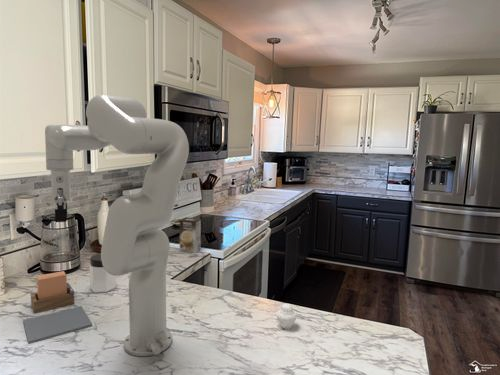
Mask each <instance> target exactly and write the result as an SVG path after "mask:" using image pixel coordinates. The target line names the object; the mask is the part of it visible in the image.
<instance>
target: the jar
mask: <svg viewBox="0 0 500 375" xmlns="http://www.w3.org/2000/svg"><path fill="white" fill-rule="evenodd" d="M88 265H89V287H90V290H91V291H92V293H94V294H95V293H108V292H109V291H110V292H111V290H113V289H116V287H117V280H116V278H117V276H114V275H111V274H109V273H108V272H107V271H106V270H105V269H104V267H103V265H102V260H101V253H99V254H93V255H92V256H90V258H89V264H88Z"/></svg>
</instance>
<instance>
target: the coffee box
mask: <svg viewBox="0 0 500 375" xmlns="http://www.w3.org/2000/svg"><path fill="white" fill-rule="evenodd" d="M201 228H202V219H201V218H194V217H187V216H185V217H182V218H181V219H179V252H184V253H194V254H196V253H197V252H200V250H201V244H202V243H201V242H202V241H201V239H202V238H201V237H202V236H201V234H202V231H201V230H202V229H201ZM199 249H200V250H199Z"/></svg>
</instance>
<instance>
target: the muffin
mask: <svg viewBox="0 0 500 375" xmlns="http://www.w3.org/2000/svg"><path fill="white" fill-rule="evenodd" d="M275 314H276V319H277V321H278V323H279V325H280V327H281V328H283V329H285V330H286V329H290V328H292V326H293V325H294V323H295V322H296V320H297V316H298V314H297V312H296V311H295V310H294V308H293V306H292V305H291V304H290V303H284V304H282V305H281V307H280V308H279V309H278V310H276V313H275Z"/></svg>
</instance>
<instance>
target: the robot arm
mask: <svg viewBox="0 0 500 375" xmlns="http://www.w3.org/2000/svg"><path fill="white" fill-rule="evenodd" d="M86 105H87V106H86V110H85V115H86V120H87V121H86V122H87V123H86V124H87V125H82V124H80V125H79V124H49V125H46V126H45V128H44V139H45V140H44V141H45V142H44V143H45V167H46V168H45V169H46V170H47V171H50V183H51V185H50V186H51V193H52V194H51V195H52V201H53V202H54V203H55V209H54V222H55V223H66V222H68V203H67V201H68V202H69V203H70V202H71V200H72V193H71V192H72V190H71V188H72V187H71V186H72V184H71V182H72V181H71V171H73V170H74V151H96V150H100V149H103V148H106V147H109V146H112V147H114V148H115V149H116V150H117V151H119V152H121V153H124V154H125V155H153V154H154V155H156V157H155V159H154V160H153V161H152V162H151V164H150V165H149V166H148V168H147V170H146V172H145V175H144V180H143V183H142V188H141V190H140V191H139V192H137V193H130V194H125V195H122V196H119V197H117V198H116V199H115V200H114V201H113V202H112V203H111V205H110V207H109V209H108V211H107V216H106V222H105V226H104V234H103V238H102V242H101V243H102V244H101V248H100V254H101V260H102V265H103V267H104V269H105V270H106V271H107V272H108V273H109V274H111V275H114V276H116V277H117V276H118V277H120V276H123V275H125V276H126V275H128V274H130V275H129V280H128V307H129V308H128V314H129V316H128V318H129V319H128V320H129V334H128V335H127V336H126V337H125V338H124V341H123V349H124V350H125V352H126V353H128V354H129V355H132V356H136V357H148V356H154V355H156V356H158V355H159V354H161V353H162V352H163V351H165V350H167V349H168V348H169V347H170V346H171V344H172V342H173V334H172V332H171V331H169V329H167V269H168V268H167V266H168V260H169V256H170V249H171V247H170V246H171V244H170V241H169V240H170V239H169V237H168V235H167V233H165V232H164V231H163V230H162V229H161V228H163V227H165V226H167V225H168V224H169V223H170V222H171V220H172V216H173V211H174V209H175V204H176V200H177V195H178V192H179V187H180V183H181V179H182V176H183V173H184V170H185V168H186V165H187V161H188V158H189V154H190V153H189V152H190V146H189V140H188V137H187V134H186V132H185V130H184V129H183V128H182V127H181V126H180V125H179V124H177V123H176V122H173V121H171V120H167V119H160V118H150V117H149V118H148V116H147V109H146V108H145V106H144V105H143V104H142V102H140V101H139V100H137V99H134V98H132V97H127V96H119V95H112V94H105V93H104V94H103V93H102V94H97V95H95V96H93V97H92V98H91V99H90V100H89V102H88V103H87V104H86Z"/></svg>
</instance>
